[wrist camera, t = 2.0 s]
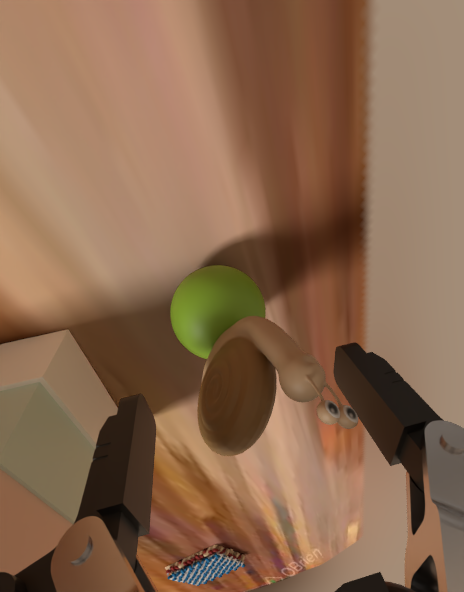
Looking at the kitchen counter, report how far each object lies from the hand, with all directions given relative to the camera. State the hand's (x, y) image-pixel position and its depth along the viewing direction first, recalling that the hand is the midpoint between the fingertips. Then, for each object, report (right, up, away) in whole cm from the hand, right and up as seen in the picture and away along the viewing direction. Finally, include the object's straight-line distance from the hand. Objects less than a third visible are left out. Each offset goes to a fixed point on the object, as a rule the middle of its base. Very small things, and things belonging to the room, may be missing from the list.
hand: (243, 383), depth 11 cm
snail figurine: (-2, +5, +7) cm, 8 cm away
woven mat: (-5, -42, +35) cm, 55 cm away
